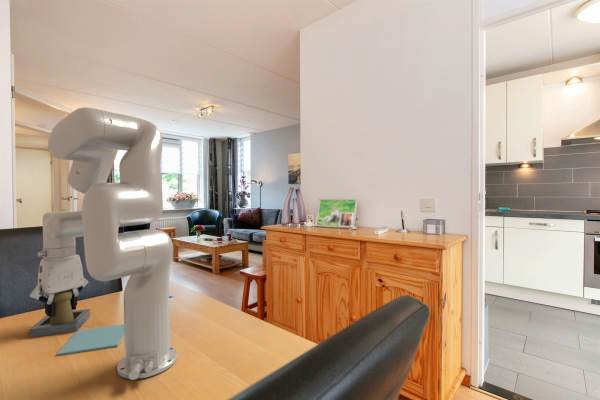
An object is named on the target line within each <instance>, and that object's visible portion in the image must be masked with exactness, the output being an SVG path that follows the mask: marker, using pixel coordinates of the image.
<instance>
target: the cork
mask: <svg viewBox="0 0 600 400" xmlns="http://www.w3.org/2000/svg"><path fill="white" fill-rule="evenodd" d="M71 298H72V291H71V290H67V291H63V292H59V293H55V294H54V297H53V301H52V302H53V303H54V304H55V316H54V317H51V319H50V324H58V323H66V322H73V321H74V317H73V312H72V311H73V310H72V307H71V302H70V299H71Z"/></svg>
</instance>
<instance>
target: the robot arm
mask: <svg viewBox="0 0 600 400" xmlns="http://www.w3.org/2000/svg"><path fill="white" fill-rule="evenodd" d="M47 149H48V151H49V153H50V155H51V156H52V157H53V158H55V159H58V160H63V161H72V163H71V166H70V169H69V172H68V175H67V178H66V179H67V184H68V185H69V186H70V187H71V188H72V189H74V190H75V191H77V192H79V193H82V194H84V196H83V198H82V205H81V210H78V211H66V210H65V211H64V210H63V211H50V212H48V211H47V212H46V213H44V214H43V215H42V240H43V241H42V244H43V246H42V247H43V248H42V250H41V251H39V252H37V256H38V258H40V257H42V258H41V260H40V263H39V267H38V275H37V285H36V286H35V288H33V290H32V291H31V293H30V294H29V298H33V299H35V300H37V301H39V302H42V303H43V304H44V314H45V316H46V315H47V316H50V317H54V316H55V304H54V303H53V302H52V301H53V297H54V294H55V293H59V292H63V291H67V290H71V291H72V298H71V299H70V302H71V307H72V311H76V310H77V306H78V296H79V295H80V293H81V291H83V289H84V288H85V287H86V286H87V285H88V283H89V280H88V279H86V278H85V276H84V271H83V265H82V261H81V257H80V254H77V250H76V247H77V245H76V238H80V237H82V238H83V247H84V260H85V266H86V270H87V272H88V274H89V276H90V277H91V278H92V279H93V280H95V281H98V282H108V281H114V280H118V279H122V278H126V277H128V276H129V278H128V279H127V282H126V283H125V284H126V285H125V287H124V290H123V324H124V335H123V338H124V341H123V342H124V356H122V358H121V359H119V361H118V363H117V365H116V371H117V374H118V376H120V377H122V378H125V379H129V380H131V381H134V380H139V379H146V378H149V377H153V376H157V375H158V374H160V373H162V372H164V371H166V370H167V369H169V368H170V367H172V366H173V365H174V364H175V362H176V361H177V359H178V351H177V349H176V348H175V347H174V346H172V345H171V331H170V329H171V328H170V327H171V326H170V324H171V323H170V322H171V321H170V318H171V317H170V301H169V296H170V274H171V265H172V260H173V254H174V243H173V240H172V238H171V237H170V235H169V234H168V233H166V232H165V231H163V230H161V229H156V228H155V229H154V228H149V229H140V230H132V231H128V232H119V228H120V227H127V226H128V227H129V226H139V225H145V224H151V223H154V222H157V221H158V220H159V219H160V218H161V217H162V215H163V211H164V210H163V209H164V204H163V203H164V201H163V200H164V199H163V198H164V197H163V188H162V187H163V185H162V175H161V174H162V171H161V160H162V159H161V158H162V151H163V137H162V133H161V131H160V129H159V128H158V127H157V125H156V124H155V123H153V122H151V121H148V120H146V119H143V118H140V117H135V116H131V115H127V114H121V113H116V112H112V111H107V110H103V109H99V108H94V107H87V106H85V107H84V106H82V107H79V108H77V109H74V110H73V111H72V112H70V113H69V114H68V115H66V116H65V117H64V118H62V119H61V120H60V121H59V122H58V123H56V125H54V127H53V128H52V130H51V132H50V134H49V136H48V140H47ZM118 151H126V152H125V153H124V154H123V156H122V157H121V159H120V162H119V167H118V168H119V169H118V171H119V182H107V181H108V179H109V176H110V174H111V172H112V171H111V170H112V168H113V165H114V162H115V159H116V157H117V154H118ZM40 293H42V294H43V293H44V294H43V295H41V294H40Z"/></svg>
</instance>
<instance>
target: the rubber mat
mask: <svg viewBox="0 0 600 400" xmlns="http://www.w3.org/2000/svg"><path fill="white" fill-rule="evenodd" d="M123 338H124V323H123V324H116V325H110V326H109V325H108V326H102V327H95V328H87V329H79V330H78V331H77V332H74V334H73V335H72V337H71V338H70V339H69V340H68V341H67V342H66V343H65V344H64V345H63V347H62V348H61V349H59V351H58V353H57V356H65V355H71V354H77V353H79V354H80V353H84V352H90V351H91V352H92V351H98V350H106V349H110V348H111V349H112V348H117V347H118V346H119V344H120V343H121V340H122V339H123Z"/></svg>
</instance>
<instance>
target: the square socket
mask: <svg viewBox="0 0 600 400" xmlns="http://www.w3.org/2000/svg"><path fill="white" fill-rule="evenodd" d="M72 312H73V317H74V321H73V322H66V323H58V324H50V319H51V317H50V316H47V315H46V314H45V316H44V317H42V318H41V319H40V320H39V321H37V322H36V323H35V324H34V325H33V326H32V327H29V339H30V338H31V339H33V338H39V337H45V336H46V337H47V336H53V335H61V334H63V335H64V334H68V333H70V334H71V333H76V332H77V331H78V330H80V329H81V327H82V326H84V324H85V323H86V322H88V320H89V318H90V317H91V309H90V308H86V309H85V308H84V309H78V310H77V309H76V310H72Z"/></svg>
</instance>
